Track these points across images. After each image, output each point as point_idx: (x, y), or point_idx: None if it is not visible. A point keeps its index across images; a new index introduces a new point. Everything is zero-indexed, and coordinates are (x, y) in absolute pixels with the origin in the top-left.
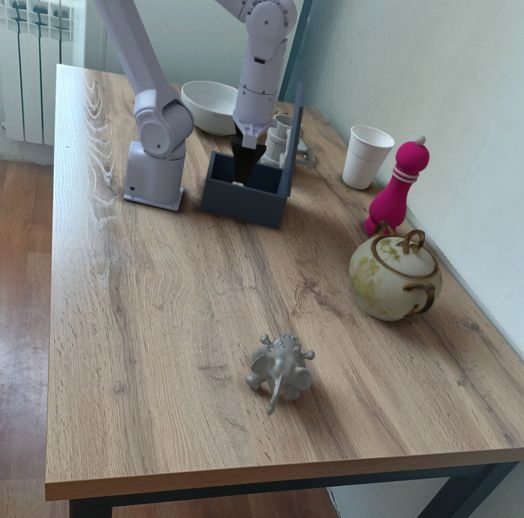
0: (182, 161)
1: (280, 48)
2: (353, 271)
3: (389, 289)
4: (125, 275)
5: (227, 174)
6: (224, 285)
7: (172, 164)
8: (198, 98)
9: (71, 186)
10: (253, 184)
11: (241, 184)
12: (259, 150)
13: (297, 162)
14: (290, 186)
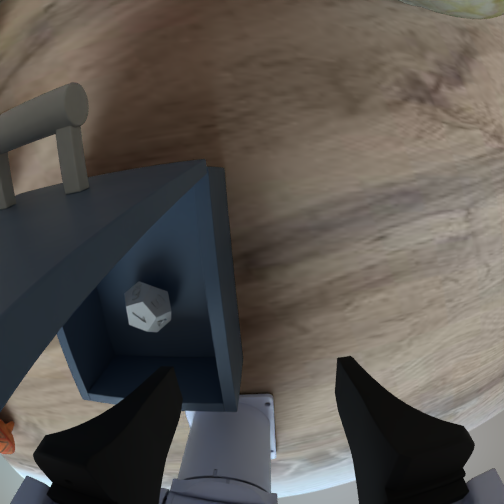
0: (235, 471)
1: None
2: (485, 15)
3: None
4: (459, 394)
5: (95, 334)
6: (471, 267)
7: (262, 480)
8: None
9: (273, 492)
10: None
11: (136, 307)
12: (469, 454)
13: (81, 171)
14: (196, 169)
